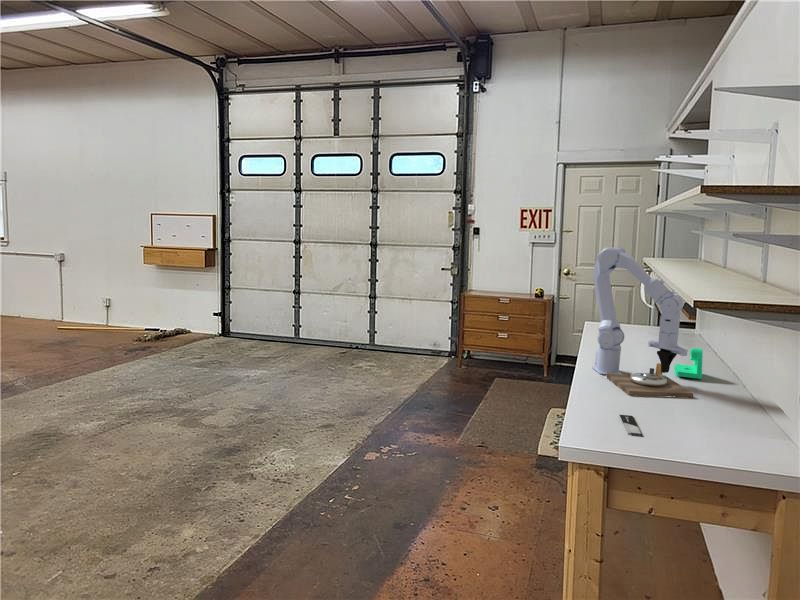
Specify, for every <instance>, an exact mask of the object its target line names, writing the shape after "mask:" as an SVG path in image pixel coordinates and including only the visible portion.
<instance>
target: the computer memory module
mask: <svg viewBox="0 0 800 600" xmlns="http://www.w3.org/2000/svg"><path fill="white" fill-rule="evenodd" d="M619 417H620V419H621V422H622V424H623V426H624V428H625V432H626V433H627V435H628V436H632V437H640V438H644V437H645V436H644V434H643V432H642V430H641V428H640V426H639V424H638V422H637V420H636V417H634V416H633V415H630V414H629V415H628V414H627V415H626V414H619Z"/></svg>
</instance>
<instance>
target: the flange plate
mask: <svg viewBox="0 0 800 600" xmlns="http://www.w3.org/2000/svg"><path fill="white" fill-rule="evenodd" d="M630 374H631V375H630V380H631V381H633V382H635V383H638V384H642V385H648V386H664V385H666V384H667V379H666V378H664V377H662V376H663V375H664V373H663V372H661V362H660V363H659V362H658V363H656V368H655V372H654V374H650V373H649V372H635V373H634V372H633V373H630Z"/></svg>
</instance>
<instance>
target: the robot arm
mask: <svg viewBox="0 0 800 600" xmlns="http://www.w3.org/2000/svg"><path fill="white" fill-rule="evenodd" d="M616 268H619V269H620V268H621V269H625V270H627V271H628V272H629V273H631V275H632V276H633V277H635V279H636V280H638V281H639V282H640V283H641V284H642V285H643V290H644V292H645V293H646V294H647V295H648V296H649V297H650V298H651V299H653V301H654V302H655V303H656V304H657V305H659V310H660V311H661V317H660V323H659V324H660V325H659V331H658V340H657V341H656V340H648V345H647V346H648V347H649V348H654V349H655V348H656V349H659V350H657V351H656V354H657V356H658V359H659V360H660V361H659V362H660V364H661V372H662V374H666V373H667V374H668V373H669V372H670V368H671V364H672V362H673V360H674V359H675V358H676V356H677V355H679V356H681V357H686V356H688V353H689V351H688V349H686V348H683V347H681V346H679V344H678V340H679V332H680V330H679V329H680V323H681V311H682V309H683V307H684V301H683V299H682V298H681V296H680V295H677V294H675V292H674V291H673V290H672V291H671V290H670V289H669V288H668V287H667V286H666V284H665V281H664V280H663V279H659V278H656V277H655V278H652V277H651V276H650V274H648V272H647V271H646V270H645V269H644V268H643V267H642V266H641V265H640V264H639V263H638V262H637V260H636V259H635V258H633V256H632V255H631V254H630V253H629V252H627V251H626V250H625V248H623V247H621V246H615V247H610V246H609V247H604V248H603V249H602V250H601V251H600V252H599V253H598V254H597V255H596V262H595V265H594V267H593V270H592V276H593V282H594V283H593V284H594V288H595V289H594V290H595V295H596V300H597V305H598V313H599V318H600V319H599V320H600V323H599V325H598V335H597V343H598V344H599V345H598V347H597V348H596V350H595V359H594V365H593V366H591V368H592V369H593V370H595V371H596V372H597V373H598V374H599V375H607V373H614V374H623V372H621V371H620V362H621V352H622V346H621V344H622V343H623V342H624V341H625V332H624V330H623V329H622V328H621V324H620V322H619V321H618V320H617V315H616V308H615V303H614V295H613V290H612V284H611V277H610V275H611V274H612V272H613V271H614V270H616ZM679 296H680V297H679Z"/></svg>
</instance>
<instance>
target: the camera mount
mask: <svg viewBox="0 0 800 600" xmlns="http://www.w3.org/2000/svg"><path fill="white" fill-rule="evenodd" d="M703 353H704V352H703V349H702V348H696V347H691V348H690V353H689V359H690V361H693V363H692V365H689V364H681V363H675V364H674V367H673V369H674V372H675V373H674V375H675V374H676V375H677V376H676V375H675V376H676V377H681V378H683V377H684V378H691V379H697V380H698V379H701V380H702V379H703V378H702V377H703Z"/></svg>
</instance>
